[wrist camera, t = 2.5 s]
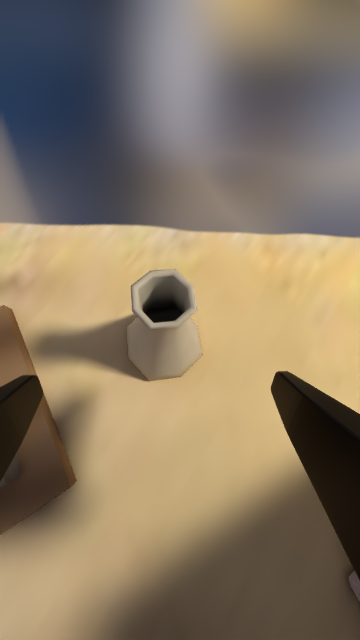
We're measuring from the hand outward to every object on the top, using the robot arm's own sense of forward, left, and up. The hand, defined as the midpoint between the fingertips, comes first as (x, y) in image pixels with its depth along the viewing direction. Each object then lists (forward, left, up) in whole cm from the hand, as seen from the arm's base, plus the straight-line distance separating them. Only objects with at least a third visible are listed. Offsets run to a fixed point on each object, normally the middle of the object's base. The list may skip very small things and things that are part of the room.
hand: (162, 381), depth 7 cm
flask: (+3, -2, -11) cm, 11 cm away
